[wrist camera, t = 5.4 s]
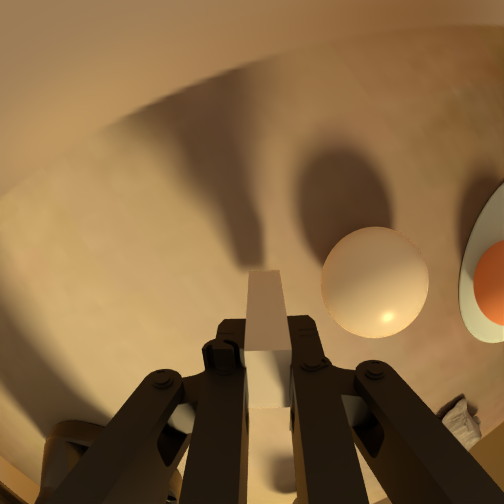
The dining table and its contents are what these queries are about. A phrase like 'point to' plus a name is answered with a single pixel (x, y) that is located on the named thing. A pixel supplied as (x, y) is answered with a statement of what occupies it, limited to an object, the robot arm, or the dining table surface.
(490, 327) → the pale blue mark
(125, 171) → the dining table surface
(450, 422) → the mineral specimen
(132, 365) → the dining table surface
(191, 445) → the robot arm
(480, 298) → the object ball
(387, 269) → the cue ball
